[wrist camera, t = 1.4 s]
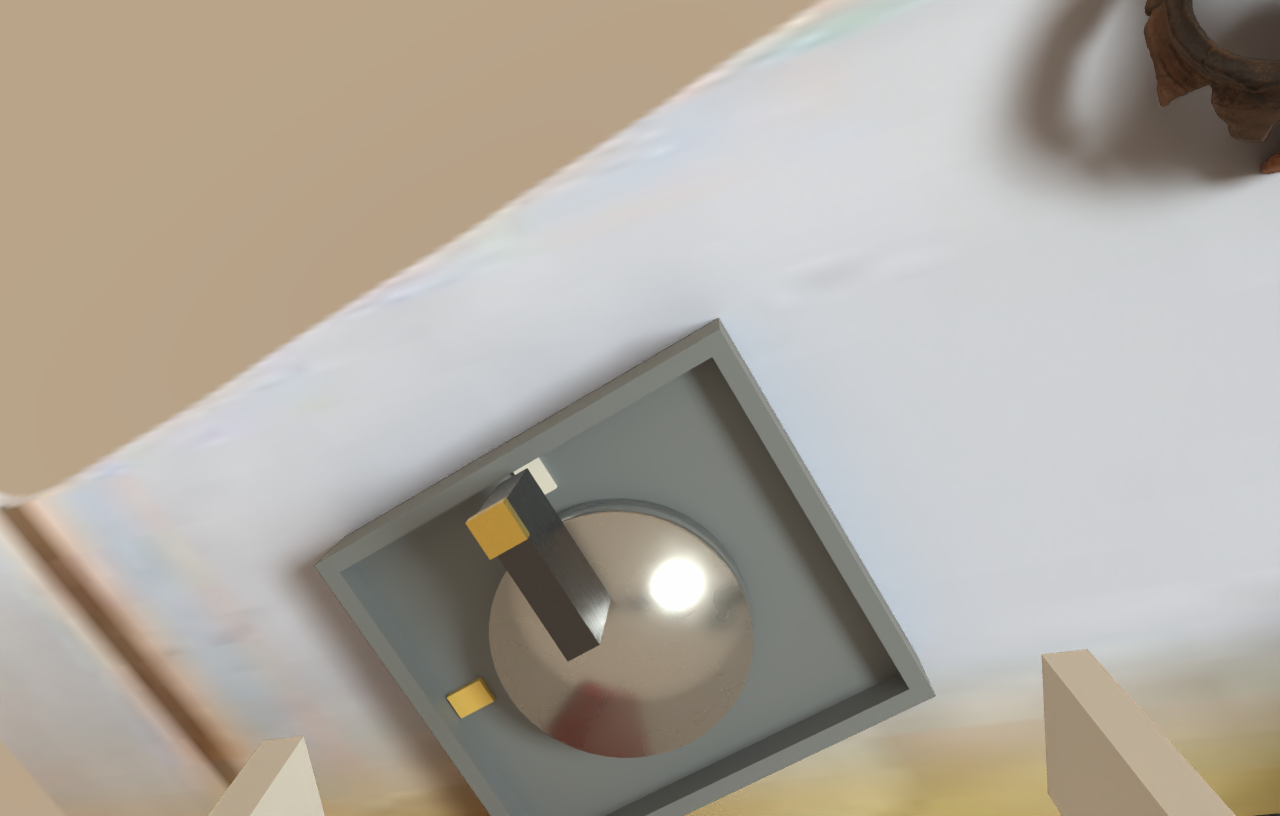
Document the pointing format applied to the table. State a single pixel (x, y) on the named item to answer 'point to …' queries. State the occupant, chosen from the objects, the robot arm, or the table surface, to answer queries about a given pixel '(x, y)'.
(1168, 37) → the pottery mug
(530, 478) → the dial
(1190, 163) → the table surface
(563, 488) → the grey tray
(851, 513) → the table surface
